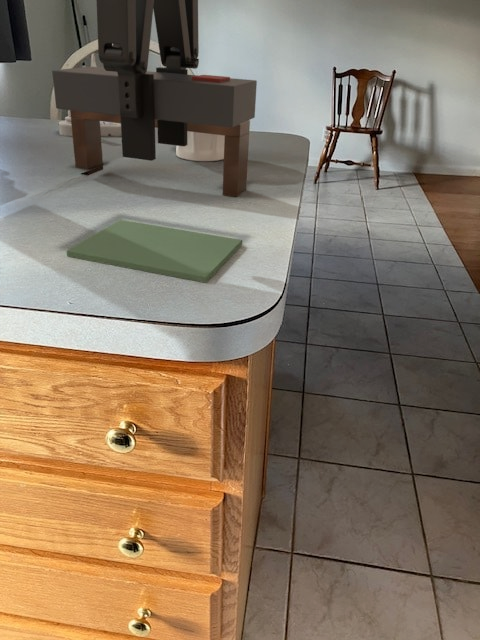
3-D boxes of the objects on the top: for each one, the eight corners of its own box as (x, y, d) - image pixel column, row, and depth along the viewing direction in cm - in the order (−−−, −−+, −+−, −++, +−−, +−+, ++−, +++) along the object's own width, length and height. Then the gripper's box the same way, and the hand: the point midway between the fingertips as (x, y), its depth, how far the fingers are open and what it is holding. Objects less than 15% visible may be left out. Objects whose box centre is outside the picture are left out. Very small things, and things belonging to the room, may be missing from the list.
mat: (66, 256, 50) (66, 250, 50) (120, 224, 59) (120, 219, 59) (206, 283, 47) (206, 276, 47) (242, 245, 55) (242, 239, 55)
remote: (55, 108, 46) (51, 66, 45) (93, 101, 51) (90, 63, 50) (232, 127, 42) (234, 82, 41) (254, 117, 47) (257, 77, 46)
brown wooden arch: (75, 173, 76) (69, 105, 72) (91, 167, 80) (86, 102, 75) (236, 197, 70) (240, 124, 66) (246, 189, 74) (250, 120, 69)
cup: (167, 164, 84) (166, 87, 78) (161, 147, 94) (159, 78, 89) (245, 165, 86) (249, 90, 81) (231, 148, 97) (234, 81, 91)
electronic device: (146, 84, 95) (56, 79, 90) (146, 142, 99) (60, 140, 94) (140, 81, 99) (54, 76, 94) (140, 136, 104) (58, 135, 99)
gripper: (130, -263, 28) (145, 180, 39) (243, -156, 44) (231, 137, 55) (9, -253, 30) (56, 167, 41) (159, -154, 46) (164, 130, 57)
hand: (156, 150), depth 48 cm, fingers closed on remote, 6 cm apart
